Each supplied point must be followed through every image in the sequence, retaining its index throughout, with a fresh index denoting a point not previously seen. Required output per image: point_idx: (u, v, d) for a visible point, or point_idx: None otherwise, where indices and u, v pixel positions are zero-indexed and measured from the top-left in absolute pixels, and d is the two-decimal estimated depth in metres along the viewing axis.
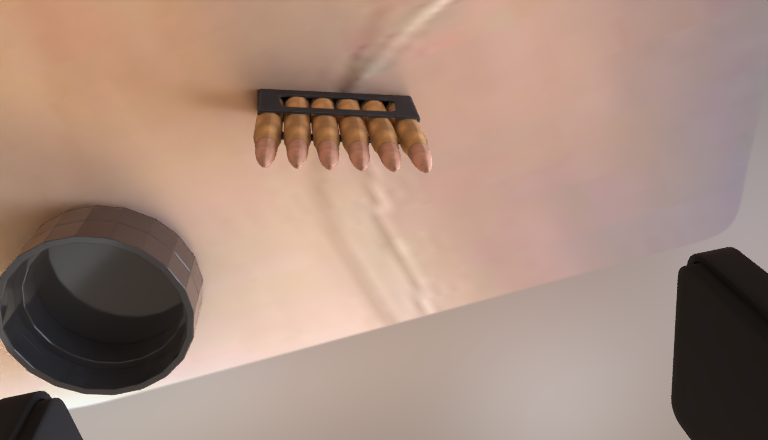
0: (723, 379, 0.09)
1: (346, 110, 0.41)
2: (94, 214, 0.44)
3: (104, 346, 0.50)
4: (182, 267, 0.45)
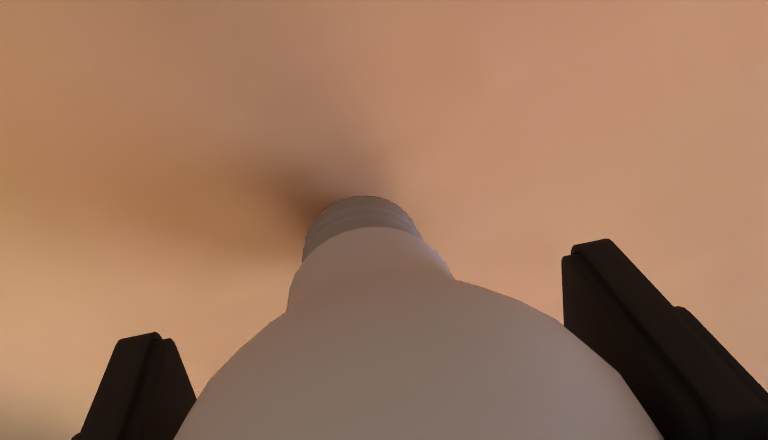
0: None
1: None
2: None
3: None
4: None
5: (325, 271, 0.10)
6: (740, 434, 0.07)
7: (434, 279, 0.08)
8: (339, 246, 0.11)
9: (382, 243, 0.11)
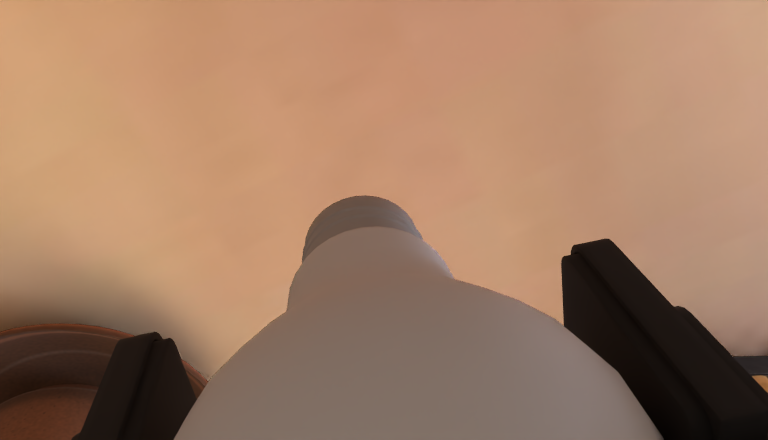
0: None
1: None
2: None
3: None
4: None
5: (325, 271, 0.10)
6: (740, 434, 0.07)
7: (434, 279, 0.08)
8: (339, 246, 0.11)
9: (382, 243, 0.11)
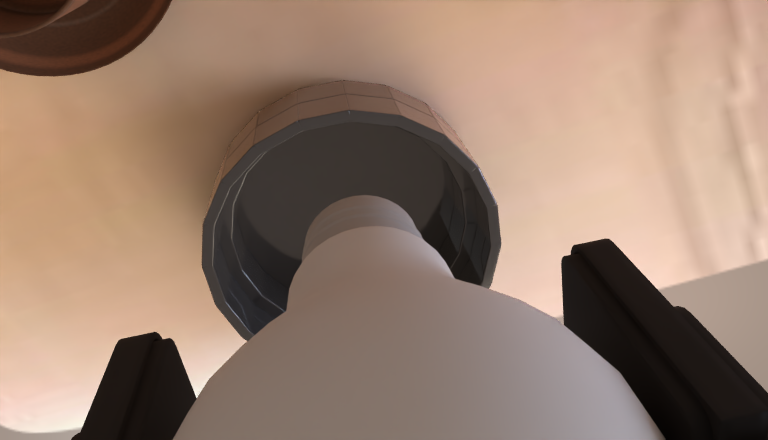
0: None
1: None
2: (351, 88, 0.28)
3: None
4: None
5: (325, 271, 0.10)
6: (740, 434, 0.07)
7: (434, 278, 0.08)
8: (339, 245, 0.11)
9: (382, 242, 0.11)
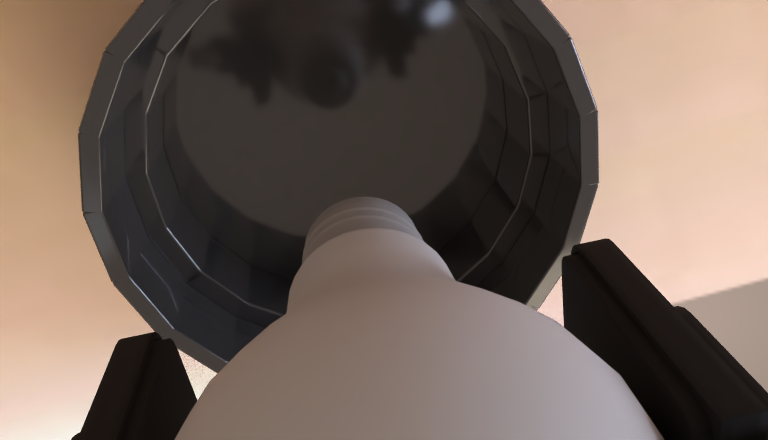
0: None
1: None
2: None
3: None
4: None
5: (325, 272, 0.10)
6: (740, 434, 0.07)
7: (435, 281, 0.08)
8: (339, 247, 0.11)
9: (382, 244, 0.11)
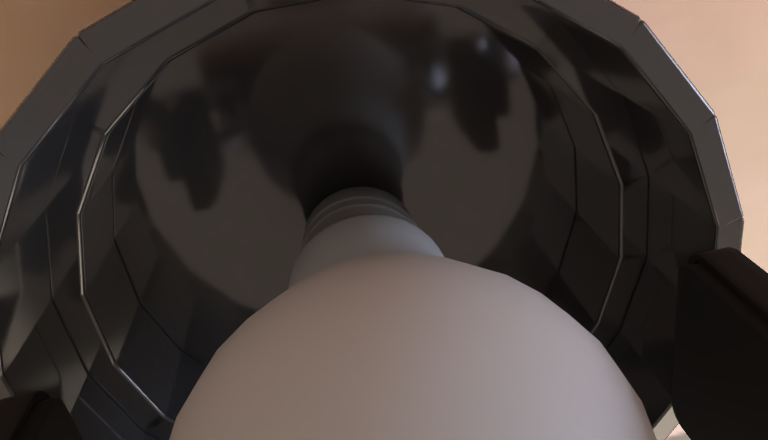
0: (723, 379, 0.09)
1: None
2: None
3: None
4: None
5: (324, 255, 0.11)
6: None
7: (427, 256, 0.08)
8: (338, 232, 0.11)
9: (379, 229, 0.11)
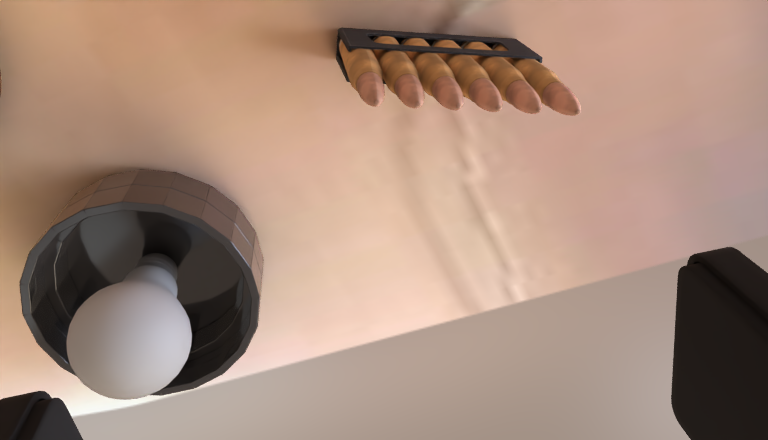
0: (723, 379, 0.09)
1: (452, 48, 0.34)
2: (141, 178, 0.37)
3: None
4: (245, 243, 0.38)
5: (126, 279, 0.37)
6: None
7: (136, 281, 0.34)
8: (134, 271, 0.37)
9: (145, 270, 0.37)
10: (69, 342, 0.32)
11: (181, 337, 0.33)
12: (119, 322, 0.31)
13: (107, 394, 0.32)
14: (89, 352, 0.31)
